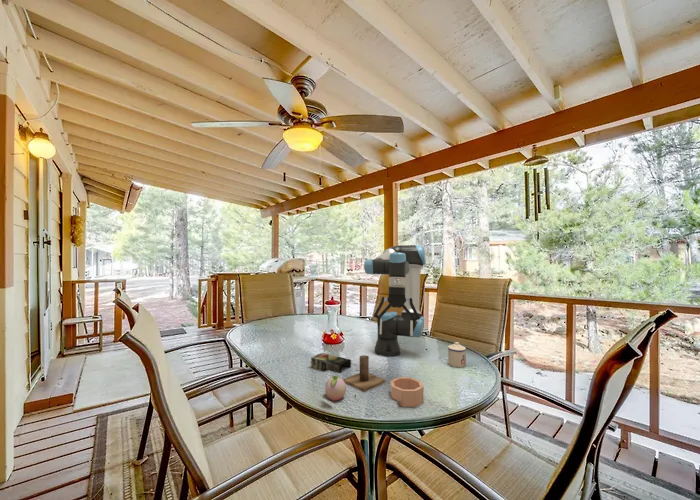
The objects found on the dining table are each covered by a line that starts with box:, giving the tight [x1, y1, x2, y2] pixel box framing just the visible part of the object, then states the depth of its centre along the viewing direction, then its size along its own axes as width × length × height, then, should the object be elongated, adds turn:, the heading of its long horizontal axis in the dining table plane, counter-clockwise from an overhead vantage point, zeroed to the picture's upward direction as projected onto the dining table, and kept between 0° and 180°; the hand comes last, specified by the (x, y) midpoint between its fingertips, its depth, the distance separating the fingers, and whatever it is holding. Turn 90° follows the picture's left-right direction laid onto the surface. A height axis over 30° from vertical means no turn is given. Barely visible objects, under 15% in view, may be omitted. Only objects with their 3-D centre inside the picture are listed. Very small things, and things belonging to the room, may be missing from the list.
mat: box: [345, 381, 387, 393], centre depth 133 cm, size 14×14×2 cm
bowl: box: [390, 376, 424, 408], centre depth 121 cm, size 12×12×6 cm
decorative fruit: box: [325, 375, 347, 401], centre depth 120 cm, size 9×8×10 cm
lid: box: [342, 354, 386, 393], centre depth 133 cm, size 13×13×11 cm
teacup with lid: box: [447, 341, 467, 368], centre depth 160 cm, size 12×9×12 cm
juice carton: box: [310, 352, 352, 374], centre depth 153 cm, size 20×10×6 cm, turn 55°
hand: (395, 334), depth 135 cm, fingers open, 13 cm apart
